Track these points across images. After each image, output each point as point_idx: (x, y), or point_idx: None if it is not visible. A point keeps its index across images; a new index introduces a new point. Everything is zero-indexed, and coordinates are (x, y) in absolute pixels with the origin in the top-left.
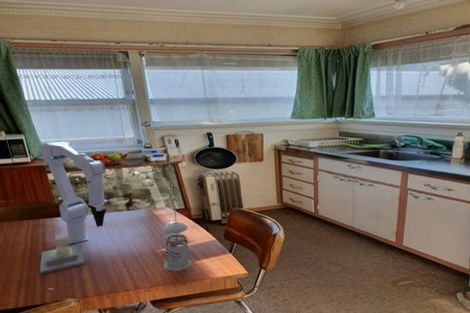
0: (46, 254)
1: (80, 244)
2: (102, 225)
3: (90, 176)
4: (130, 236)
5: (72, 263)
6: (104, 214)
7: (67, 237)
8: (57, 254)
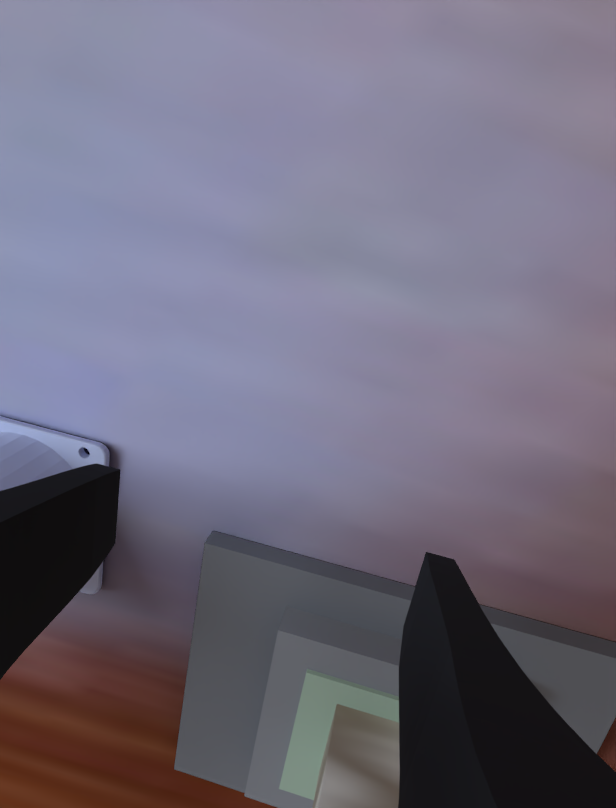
0: (245, 769)
1: (210, 550)
2: (456, 565)
3: None
4: (284, 10)
5: (589, 733)
6: (604, 763)
7: None
8: None
